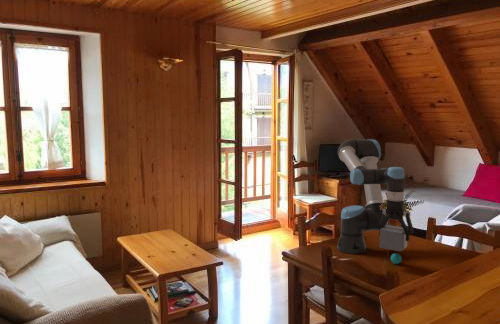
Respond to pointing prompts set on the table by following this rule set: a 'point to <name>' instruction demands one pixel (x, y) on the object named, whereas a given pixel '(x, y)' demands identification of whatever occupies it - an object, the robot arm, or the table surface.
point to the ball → (396, 258)
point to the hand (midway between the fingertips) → (393, 245)
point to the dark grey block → (392, 238)
